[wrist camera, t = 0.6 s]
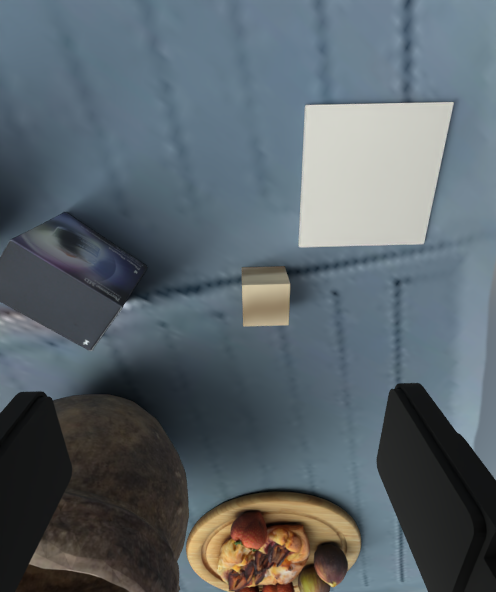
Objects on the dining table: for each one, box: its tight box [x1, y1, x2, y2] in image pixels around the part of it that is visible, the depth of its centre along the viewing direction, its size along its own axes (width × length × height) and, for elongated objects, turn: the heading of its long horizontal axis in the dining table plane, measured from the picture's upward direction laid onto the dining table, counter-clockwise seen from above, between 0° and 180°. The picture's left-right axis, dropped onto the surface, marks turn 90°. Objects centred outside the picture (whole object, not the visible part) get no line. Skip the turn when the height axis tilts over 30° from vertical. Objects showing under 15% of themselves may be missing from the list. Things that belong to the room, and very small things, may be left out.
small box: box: [0, 212, 147, 351], centre depth 36 cm, size 11×6×10 cm, turn 52°
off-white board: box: [299, 102, 454, 247], centre depth 37 cm, size 14×14×1 cm
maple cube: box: [242, 266, 290, 326], centre depth 40 cm, size 5×5×5 cm
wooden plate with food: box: [186, 492, 361, 592], centre depth 63 cm, size 32×32×8 cm
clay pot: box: [15, 394, 189, 592], centre depth 40 cm, size 26×26×25 cm
